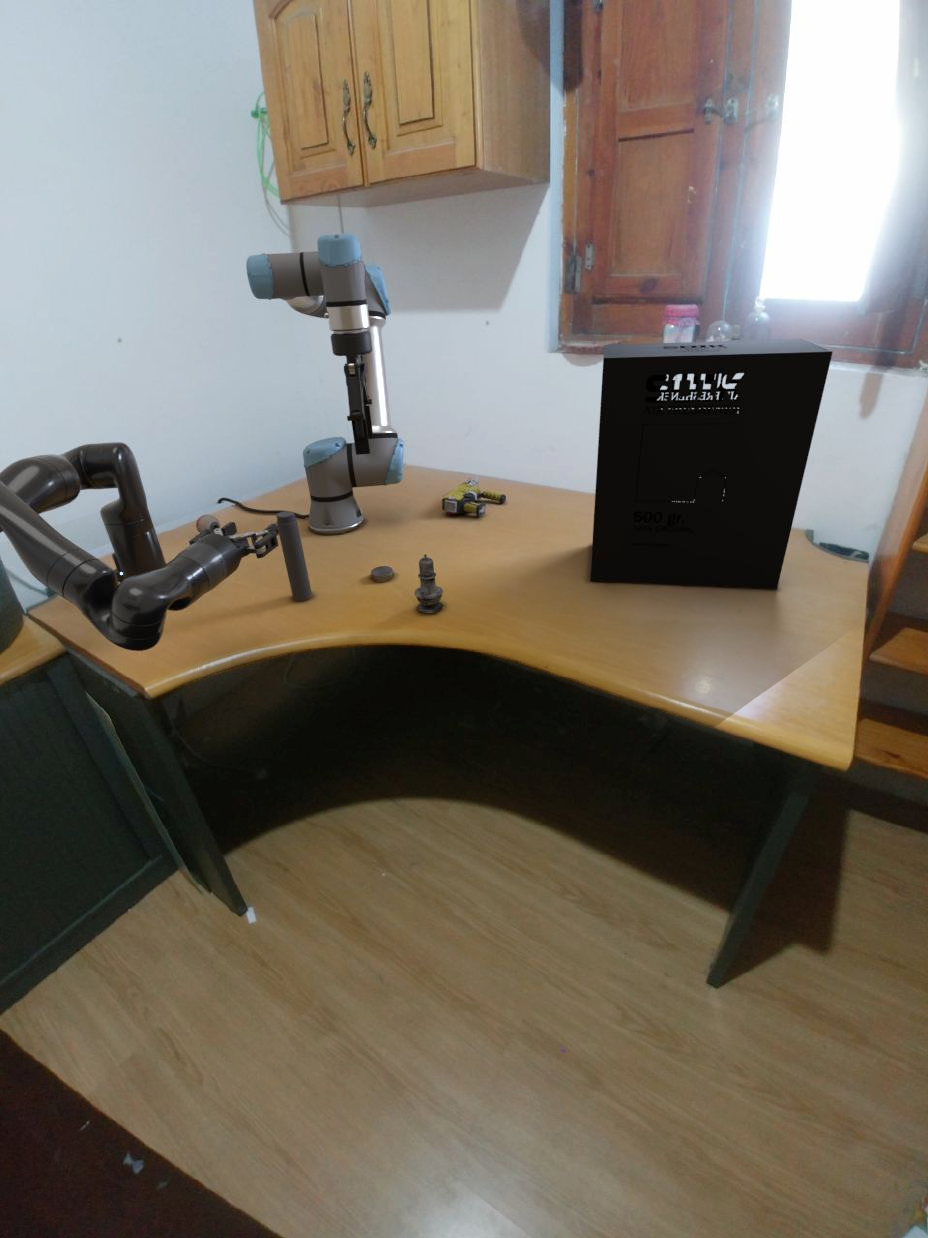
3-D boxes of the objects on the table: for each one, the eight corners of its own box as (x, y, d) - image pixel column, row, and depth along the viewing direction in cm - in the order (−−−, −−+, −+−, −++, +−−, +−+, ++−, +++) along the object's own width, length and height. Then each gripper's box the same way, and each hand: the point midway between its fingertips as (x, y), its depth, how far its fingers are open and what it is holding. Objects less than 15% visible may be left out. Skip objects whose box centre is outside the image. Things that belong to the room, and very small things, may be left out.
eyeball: (209, 541, 163) (203, 520, 160) (195, 537, 166) (188, 517, 163) (227, 533, 168) (222, 513, 165) (213, 530, 171) (207, 510, 168)
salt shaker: (440, 614, 122) (436, 560, 116) (412, 613, 123) (406, 559, 117) (447, 600, 127) (443, 548, 121) (420, 599, 128) (414, 547, 122)
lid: (369, 582, 137) (368, 576, 136) (373, 572, 141) (372, 566, 140) (392, 581, 136) (391, 575, 136) (395, 572, 141) (394, 565, 140)
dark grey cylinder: (291, 595, 133) (273, 512, 124) (310, 591, 134) (293, 509, 125) (294, 603, 130) (276, 518, 120) (313, 599, 131) (296, 515, 121)
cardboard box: (756, 549, 141) (800, 338, 118) (776, 589, 124) (832, 351, 101) (592, 544, 148) (604, 344, 126) (590, 580, 131) (603, 357, 109)
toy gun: (514, 482, 184) (468, 475, 188) (491, 505, 164) (440, 497, 168) (513, 497, 186) (467, 490, 190) (490, 522, 166) (439, 513, 170)
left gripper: (238, 545, 95) (285, 509, 109) (160, 541, 98) (215, 507, 112) (249, 587, 99) (293, 547, 112) (173, 582, 102) (225, 544, 115)
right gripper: (336, 327, 124) (351, 432, 134) (322, 338, 102) (341, 462, 113) (373, 325, 124) (385, 430, 135) (366, 335, 103) (381, 459, 113)
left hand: (254, 527), depth 112 cm, fingers open, 8 cm apart
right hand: (365, 445), depth 124 cm, fingers open, 13 cm apart
